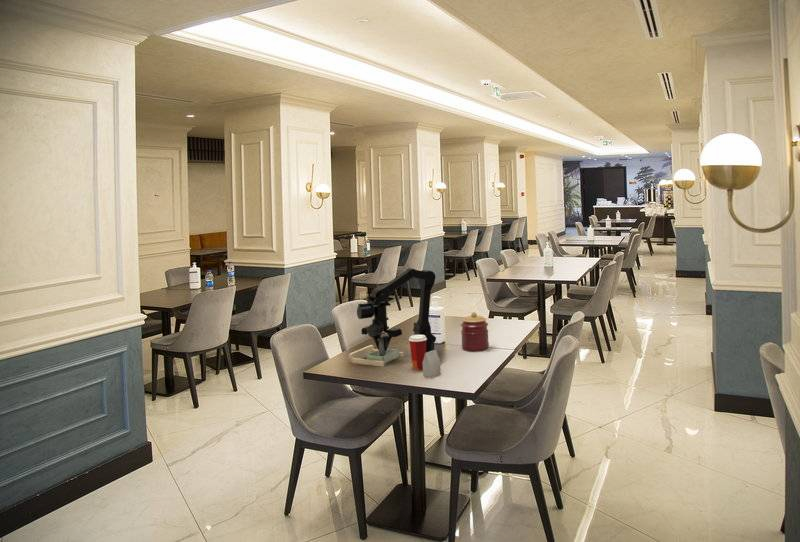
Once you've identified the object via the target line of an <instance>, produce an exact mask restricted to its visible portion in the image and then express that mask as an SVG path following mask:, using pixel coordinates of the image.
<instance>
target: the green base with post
mask: <svg viewBox="0 0 800 542" xmlns="http://www.w3.org/2000/svg"><path fill="white" fill-rule="evenodd" d="M382 337H383V336H381V337H378V338H377V340H378V341H379V350H377V351H375V352H372V353H370V354H368V355H366V357H365V359H368V360H377V361H384V365H386V364H388V363H390V362H392V361H394V360H396V359H398V358H400V357H399V352H400V351H399V349H393V348H387V350H386V351H385V349H384V339H383V338H382Z"/></svg>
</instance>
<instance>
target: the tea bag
mask: <svg viewBox="0 0 800 542" xmlns="http://www.w3.org/2000/svg"><path fill="white" fill-rule="evenodd" d="M422 363H423V370H422V377H423V376H424V377H423V378H427V377H429V378H428V379H431V378H434V377H436V375H437V376H439V375H441V371H442V370H441V359H440V357H439V354H438V352H437V349H435V350H433V351H430V352H427V353H425V356H424V359H423V362H422ZM433 376H434V377H433Z"/></svg>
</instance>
